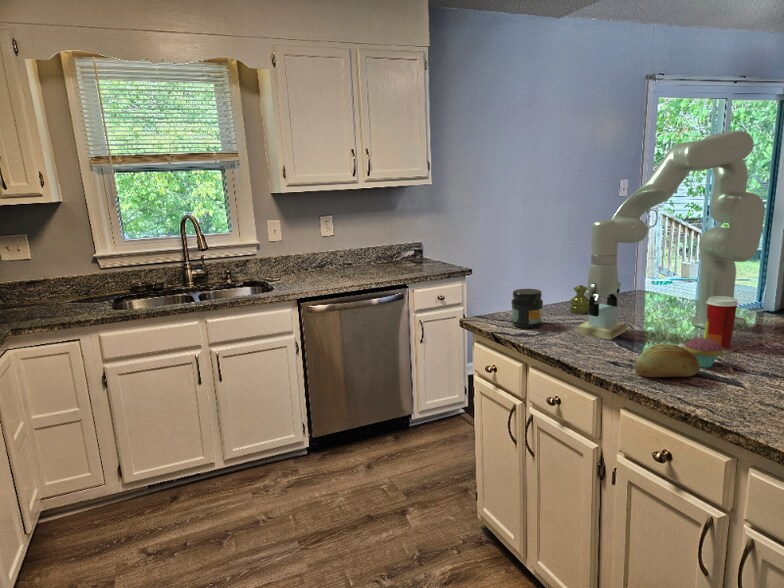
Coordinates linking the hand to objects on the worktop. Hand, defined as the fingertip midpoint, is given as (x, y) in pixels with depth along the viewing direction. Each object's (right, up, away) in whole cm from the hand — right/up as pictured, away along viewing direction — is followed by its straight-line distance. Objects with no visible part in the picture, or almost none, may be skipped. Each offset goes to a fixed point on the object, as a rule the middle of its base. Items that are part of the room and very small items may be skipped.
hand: (602, 312), depth 164 cm
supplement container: (-21, -5, +14) cm, 25 cm away
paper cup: (+26, -9, -17) cm, 32 cm away
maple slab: (0, -7, +2) cm, 7 cm away
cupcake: (+14, -13, -30) cm, 35 cm away
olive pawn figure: (+3, -1, +27) cm, 27 cm away
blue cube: (0, -4, +1) cm, 4 cm away
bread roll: (+1, -15, -36) cm, 39 cm away
